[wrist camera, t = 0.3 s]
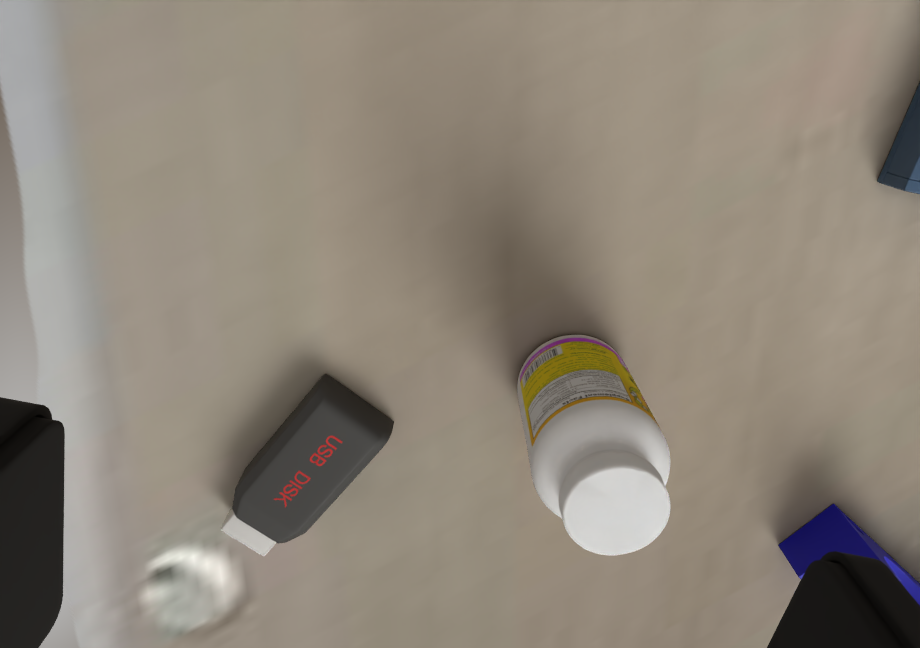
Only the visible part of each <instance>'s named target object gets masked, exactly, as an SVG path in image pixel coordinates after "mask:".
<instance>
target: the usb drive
mask: <svg viewBox="0 0 920 648" xmlns="http://www.w3.org/2000/svg"><path fill="white" fill-rule="evenodd" d="M393 424H394V421H392V420H391V419H389V418H388V417H387V416H385V415H384V414H382V413H381V412H379V411H378V410H377V409H375V408H374V407H372V406H371V405H370V404H368V403H367V402H365V401H364V400H362V399H361V398H360V397H358V396H357V395H355V394H354V393H352V392H351V391H350V390H348V389H347V388H345V387H344V386H343V385H341V384H340V383H338V382H337V381H335V380H334V379H333V378H331V377H330V376H328V375H327V374H324V375H323V376H322V377H321V379H320V380H319V381H318V382H317V383H316V384H315V386H314V387H313V388H312V389H311V390H310V392H309V393H308V394H307V395H306V396H305V398H304V399H303V400H302V401H301V402H300V404H299V405H298V406H297V407H296V408H295V410H294V411H293V412H292V413H291V414H290V416H289V417H288V418H287V419H286V420H285V422H284V423H283V424H282V425H281V426H280V428H279V429H278V430H277V431H276V432H275V434H274V435H273V436H272V437H271V438H270V440H269V441H268V442H267V443H266V444H265V446H264V447H263V448H262V449H261V450H260V452H259V453H258V454H257V455H256V456H255V458H254V459H253V460H252V461H251V462H250V464H249V465H248V466H247V467H246V469H245V471H244V473H243V474H242V476H241V478H240V480H239V482H238V485H237V487H236V489H235V495H234V501H233V507H232V509H231V510H230V511H229V513H228V515H227V517H226V519H225V521H224V523H223V525H222V527H221V531H223V532H224V533H226V534H228V535H229V536H231V537H233V538H234V539H236V540H237V541H239V542H241V543H242V544H244V545H246V546H247V547H249V548H251V549H252V550H254V551H255V552H257V553H259V554H260V555H262V556H265V555H266V554H267V553H268V552H269V550H270V549H271V548H272V547H273V546H274V545H275V544H276V543H285V542H288V541H290V540H292V539H294V538H296V537H298V536H300V535H302V534H304V533H305V532H306V531H307V530H308V529H309V528H310V527H311V526H312V525H313V524H314V523H315V522H316V521H317V519H318V518H319V517H320V516H321V515H322V514H323V513H324V512H325V511H326V510H327V508H328V507H329V506H330V505H331V504H332V503H333V502H334V501H335V500H336V499H337V497H338V496H339V495H340V494H341V493H342V492H343V491H344V490H345V489H346V488H347V486H348V485H349V484H350V483H351V482H352V481H353V480H354V479H355V478H356V477H357V475H358V474H359V473H360V472H361V471H362V470H363V469H364V468H365V467H366V465H367V464H368V463H369V462H370V461H371V460H372V459H373V458H374V457H375V456H376V454H377V453H378V452H379V451H380V450H381V449H382V448H383V446H384V445H385V444H386V443H387V441H388V439H389V438H390V435H391V433H392V429H393Z"/></svg>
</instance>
